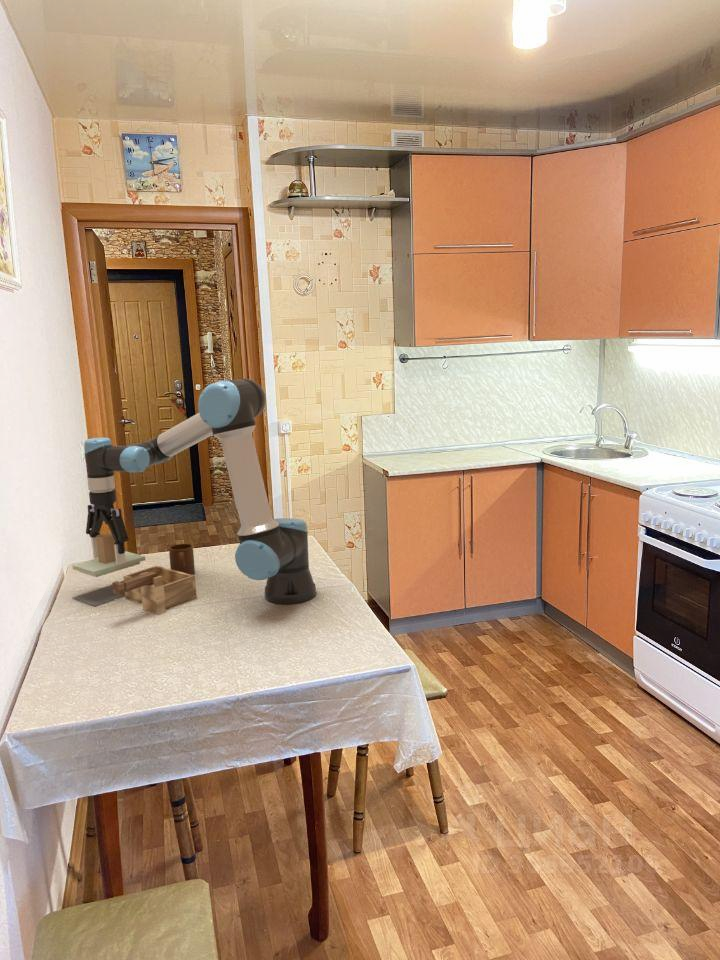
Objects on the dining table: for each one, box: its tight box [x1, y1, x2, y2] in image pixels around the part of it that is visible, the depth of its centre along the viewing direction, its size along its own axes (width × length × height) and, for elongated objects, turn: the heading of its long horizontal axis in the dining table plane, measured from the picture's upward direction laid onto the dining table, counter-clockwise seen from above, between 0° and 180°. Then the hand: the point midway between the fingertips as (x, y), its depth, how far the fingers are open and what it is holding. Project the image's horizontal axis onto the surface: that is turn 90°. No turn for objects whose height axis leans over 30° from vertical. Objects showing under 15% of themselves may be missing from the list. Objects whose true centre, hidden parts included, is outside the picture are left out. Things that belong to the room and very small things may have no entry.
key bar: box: [111, 572, 157, 595], centre depth 197 cm, size 3×12×3 cm, turn 142°
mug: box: [168, 543, 195, 575], centre depth 231 cm, size 12×8×9 cm, turn 15°
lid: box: [72, 532, 146, 578], centre depth 216 cm, size 18×11×10 cm, turn 142°
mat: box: [71, 584, 125, 608], centre depth 218 cm, size 12×20×1 cm, turn 142°
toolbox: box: [122, 565, 198, 615], centre depth 210 cm, size 19×14×10 cm
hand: (109, 560), depth 216 cm, fingers closed on lid, 11 cm apart
